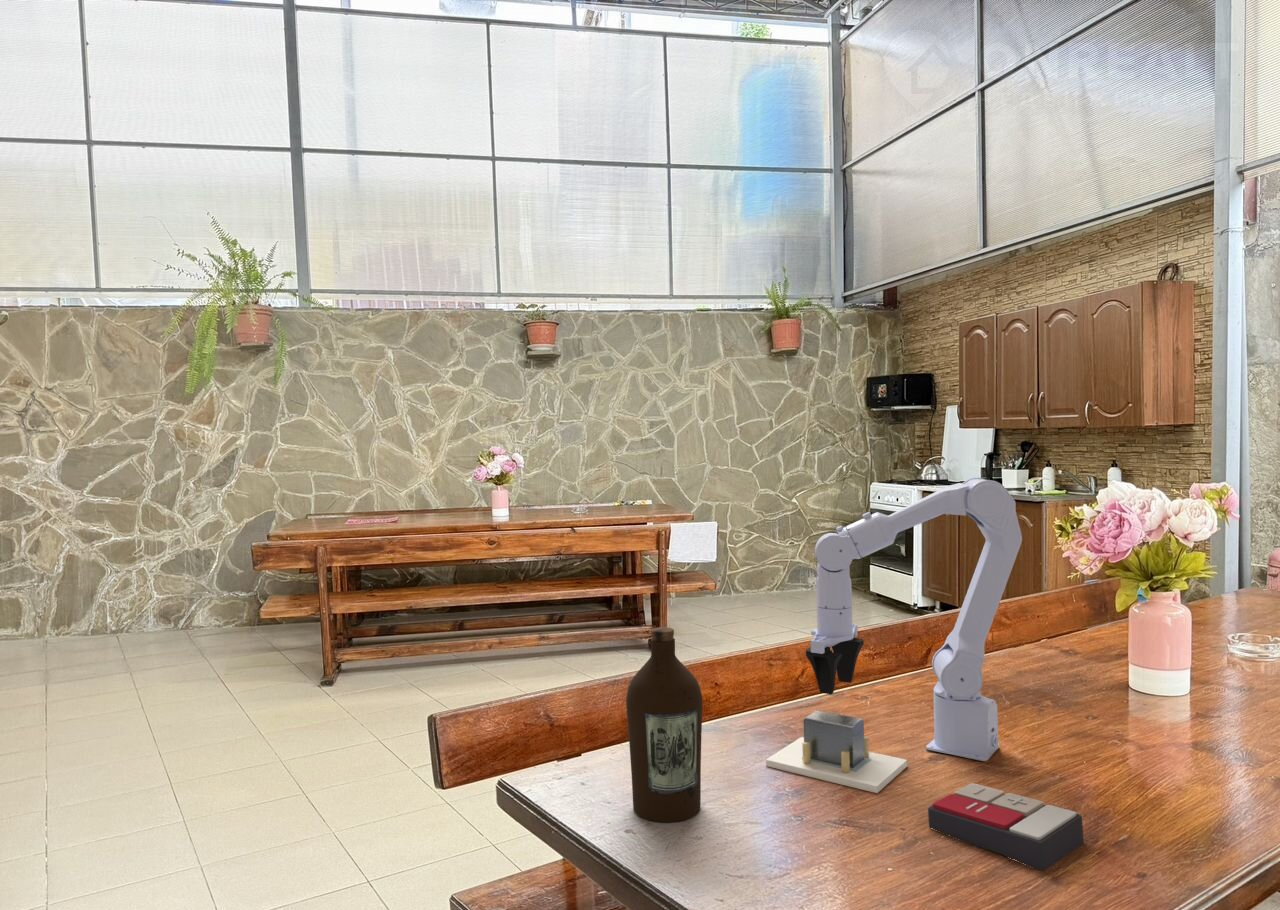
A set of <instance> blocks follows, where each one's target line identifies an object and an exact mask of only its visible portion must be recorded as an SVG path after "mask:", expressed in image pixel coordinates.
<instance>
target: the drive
mask: <svg viewBox="0 0 1280 910" xmlns="http://www.w3.org/2000/svg"><path fill="white" fill-rule="evenodd" d="M864 736H865V721H864V719H863V718H861V717H853V716H848V715H843V714H839V713H838V714H837V713H832V712H827V711H821V710H814V711H813V712H811V713H810V714H809V715H807V716H806V717H804V718H803V738H804V742H809V743H810V756H811V759H814V760H818V761H823V762H827V763H832V764H836V765H841V751H849V755H850V768H854V767H855V766H857V765H858V764H859V763H860V762H861V761H863V760H864V759H865V755H864Z"/></svg>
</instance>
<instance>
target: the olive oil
mask: <svg viewBox="0 0 1280 910" xmlns="http://www.w3.org/2000/svg"><path fill="white" fill-rule="evenodd" d="M650 632H651V633H650V634H651V639H650V653H651V654H650V657H649V658H648V660H647V661H646V662H645V663H644V665H643V666H641V668H640V669H639V670H638V671H637V672H636V674H635V675H634V676H633V677H632V679H631V680H630V682H629V684H628V685H629V686H628V688H627V692H626V697H625V703H626V704H625V705H626V716H627V717H626V719H627V730H628V742H629V755H630V756H629V757H630V759H629V760H630V771H631V786H632V787H631V790H632V807H633V811H634V813H635V814H636V815H637V816H638V817H641V818H642V819H645V820H648V821H650V822H657V823H676V822H681V821H685V820H688V819H691V818H692V817H695V816H696V815H698V813H699V812H700V810H701V802H702V801H701V790H702V788H701V787H702V786H701V781H702V780H701V777H702V775H701V772H702V771H701V770H702V734H703V733H702V731H703V730H702V729H703V728H702V727H703V693H702V691H701V687H700V684H699V682H698V679H697V678H696V677H695V675H694V674H693V673H692V672H691V671H690V670H689V669H688V668H687V667H686V666H685V665H684V664H683V662H681V661H680V660H679V658H678V657H677V656H676V638H675V637H674V635H675V630H674V628H672V627H665V626H661V627H660V626H659V627H654V628H652V629H651V630H650Z"/></svg>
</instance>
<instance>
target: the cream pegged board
mask: <svg viewBox="0 0 1280 910" xmlns="http://www.w3.org/2000/svg"><path fill="white" fill-rule="evenodd" d="M864 755H865V759H864V760H863V761H861V762H860V763H859V764H858V765H857V766H855V767H854V768H850V755H849V751H841V765H836V764H832V763H827V762H823V761H818V760H814V759H811V756H810V743H809V742H804V736H800V737H799V738H797V739H796V740H794V741H793V742H792V743H790V744H788V745H786V746H785V747H784V748H782V749H780V750H779V751H777V752H775V753H774V754H772V755H770V757H767V758H766V760H765V766H766V767H769V768H773V769H777V770H779V771H780V770H781V771H785V772H788V773H793V774H797V775H802V776H806V777H809V778H814V779H818V780H821V781H826V782H829V783H834V784H838V785H843V786H846V787H850V788H853V789H859V790H862V791H867V792H871V793H874V794H875V793H876V794H879V792H880V791H882V790H883V789H884V787H886V786H887V785H888V784H889V783H890V782H891V781H893V780H894V779H895V778H896V777H897V776H898V775H899V774H901V773H902V772H903V771H904V770H905V769H906V768H907V767H908V759H906V758H905V759H904V758H901V757H895V756H890V755H887V754H881V753H877V752H873V751H870V737H868V736H865V735H864Z"/></svg>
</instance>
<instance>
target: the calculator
mask: <svg viewBox="0 0 1280 910" xmlns="http://www.w3.org/2000/svg"><path fill="white" fill-rule="evenodd" d="M927 814H928V815H927V817H928V828H929V827H930V828H933V829H935V830H937V831H940V832H942V833H944V834H943V835H945V834H947V835H950V836H951V837H950V836H949V837H950V838H953V837H954V838H953V839H955V838H956V840H958V839H959V840H958V841H961V842H963V843H966V844H969V843H970V845H973V846H975V847H978V848H981V849H985V850H987V849H988V850H987V851H990V850H991V851H990V852H993V853H997V854H1000V855H1002V856H1005V857H1006V858H1007V857H1009V858H1011V859H1015V860H1017V861H1019V862H1021V863H1024V864H1026V865H1028V866H1031V867H1033V868H1032V869H1034V868H1035V869H1034V870H1036V869H1037V871H1039V872H1045V870H1046V869H1047V870H1048V869H1050V868H1051V867H1052V865H1053V866H1054V865H1055V864H1057V863H1058V862H1060V861H1061V860H1062V859H1064V858H1065V857H1066V856H1067V855H1069V854H1071V853H1072V852H1074V851H1075V850H1076V849H1077V848H1079V847H1080V846H1081V845H1082V846H1083V844H1084V828H1083V827H1084V826H1083V817H1082V815H1081V814H1079V813H1078V812H1076V811H1073V810H1070V809H1066V808H1062V807H1060V806H1055V805H1051V804H1047V805H1046V804H1044V801H1042V800H1038V799H1035V798H1031V797H1027V796H1023V795H1019V794H1017V793H1012V792H1008V793H1005V791H1004V790H1001V789H996V788H994V787H990V786H986V785H981V784H979V783H978V784H977V783H975V782H971V783H969V784H967V785H965V786H963V787H961V788H959V789H957V790H956V791H954V794H953V793H949V794H948V795H946V796H944V797H942V798H941V799H939V800H936V801H934V802H933V803H932V805H930V806H929V807H928V808H927ZM930 828H929V829H930ZM937 831H936V832H937ZM940 832H939V833H940ZM942 833H941V834H942ZM947 835H946V836H947ZM1063 857H1064V858H1063ZM1056 862H1057V863H1056ZM1021 863H1020V864H1021ZM1026 865H1025V866H1026ZM1028 866H1027V867H1028ZM1031 867H1030V868H1031ZM1049 867H1050V868H1049ZM1047 870H1046V871H1047Z"/></svg>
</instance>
